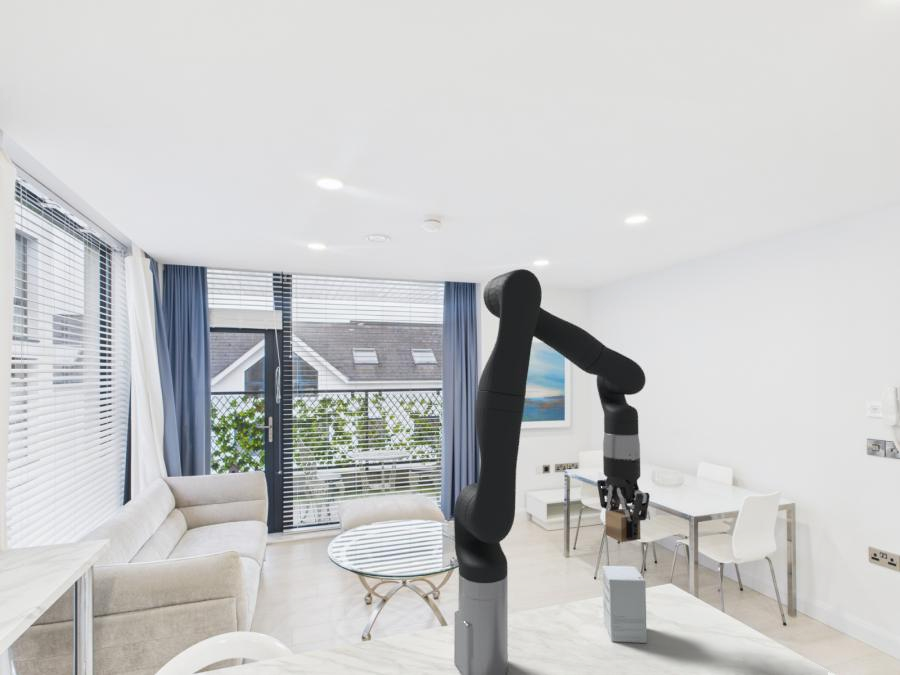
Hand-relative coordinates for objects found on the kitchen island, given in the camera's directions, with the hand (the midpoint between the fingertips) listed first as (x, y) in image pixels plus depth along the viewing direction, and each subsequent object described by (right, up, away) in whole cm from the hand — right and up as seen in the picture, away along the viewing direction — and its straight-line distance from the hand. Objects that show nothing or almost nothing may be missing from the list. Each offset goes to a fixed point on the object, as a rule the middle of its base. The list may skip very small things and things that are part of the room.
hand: (622, 534), depth 106 cm
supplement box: (0, -21, -1) cm, 21 cm away
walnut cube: (0, 0, 0) cm, 0 cm away
